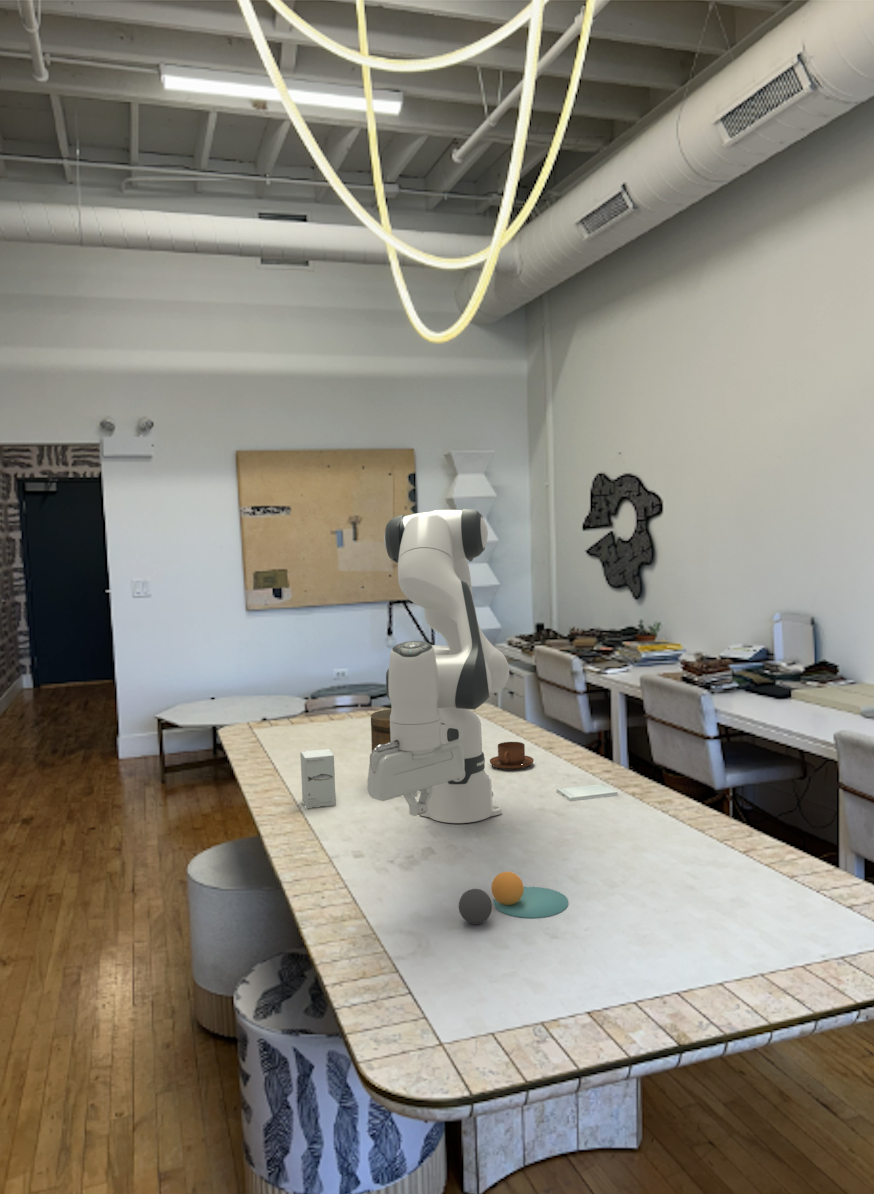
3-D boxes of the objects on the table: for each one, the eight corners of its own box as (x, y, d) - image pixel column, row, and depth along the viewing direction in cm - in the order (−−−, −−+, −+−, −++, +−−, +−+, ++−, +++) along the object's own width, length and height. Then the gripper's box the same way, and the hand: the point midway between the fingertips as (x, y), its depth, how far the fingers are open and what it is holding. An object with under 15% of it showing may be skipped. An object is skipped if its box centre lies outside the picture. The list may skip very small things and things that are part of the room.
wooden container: (405, 793, 231) (401, 706, 229) (361, 785, 240) (357, 701, 238) (440, 779, 243) (437, 696, 241) (397, 771, 252) (394, 692, 250)
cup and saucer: (535, 772, 247) (534, 749, 246) (490, 773, 247) (490, 750, 247) (531, 760, 259) (531, 739, 258) (489, 762, 259) (488, 740, 259)
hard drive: (602, 782, 230) (556, 788, 227) (617, 791, 222) (569, 797, 219) (603, 789, 230) (556, 794, 227) (617, 798, 222) (569, 803, 219)
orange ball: (491, 866, 163) (522, 864, 162) (496, 895, 165) (527, 893, 163) (486, 883, 158) (518, 880, 157) (492, 912, 159) (524, 910, 158)
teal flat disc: (494, 888, 168) (494, 887, 168) (566, 887, 167) (566, 886, 167) (492, 918, 155) (492, 917, 155) (570, 918, 154) (570, 916, 154)
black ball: (498, 921, 154) (486, 892, 158) (495, 907, 150) (483, 877, 154) (467, 934, 153) (456, 904, 157) (463, 920, 149) (451, 890, 153)
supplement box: (306, 809, 220) (303, 757, 219) (302, 801, 227) (299, 750, 226) (336, 806, 222) (334, 754, 221) (331, 797, 229) (329, 747, 228)
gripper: (382, 749, 151) (385, 832, 152) (468, 727, 165) (471, 803, 166) (357, 744, 156) (361, 824, 157) (444, 723, 170) (447, 797, 171)
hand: (418, 813), depth 161 cm, fingers closed
